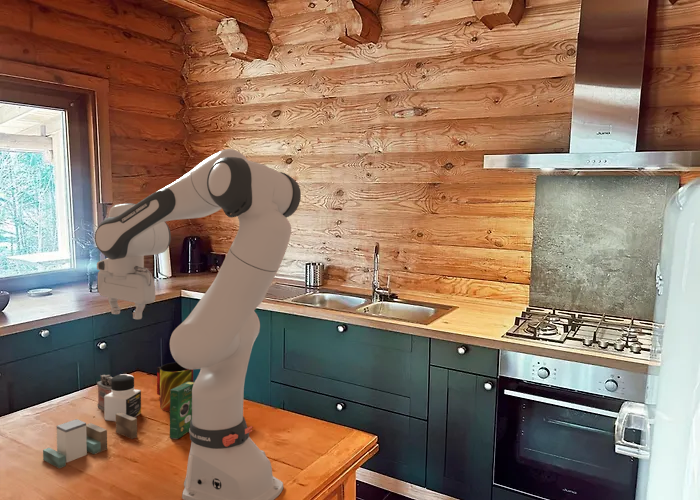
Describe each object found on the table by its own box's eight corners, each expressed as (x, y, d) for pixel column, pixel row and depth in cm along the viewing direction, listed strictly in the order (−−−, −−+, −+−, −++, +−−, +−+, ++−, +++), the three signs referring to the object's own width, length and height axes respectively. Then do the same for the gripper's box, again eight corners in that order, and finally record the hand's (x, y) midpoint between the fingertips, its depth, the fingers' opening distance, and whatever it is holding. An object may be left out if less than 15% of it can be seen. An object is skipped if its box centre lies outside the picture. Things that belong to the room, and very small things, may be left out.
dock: (137, 437, 140) (136, 418, 140) (59, 468, 123) (58, 447, 123) (120, 430, 144) (120, 412, 144) (43, 459, 127) (42, 439, 126)
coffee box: (187, 426, 148) (187, 380, 147) (196, 427, 147) (196, 381, 146) (168, 438, 140) (168, 389, 139) (178, 439, 139) (178, 391, 138)
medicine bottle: (126, 423, 149) (126, 381, 148) (104, 420, 150) (103, 379, 149) (141, 413, 156) (141, 373, 155) (119, 410, 157) (119, 371, 156)
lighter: (94, 406, 159) (94, 374, 159) (105, 403, 162) (105, 371, 161) (110, 413, 155) (109, 380, 154) (120, 410, 158) (120, 377, 157)
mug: (158, 396, 169) (158, 359, 168) (198, 401, 166) (199, 363, 165) (140, 408, 160) (140, 369, 158) (183, 412, 157) (183, 373, 156)
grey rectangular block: (86, 454, 130) (86, 422, 129) (66, 462, 126) (65, 430, 125) (77, 450, 132) (76, 418, 132) (57, 457, 128) (56, 425, 127)
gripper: (161, 267, 138) (161, 319, 139) (114, 260, 149) (114, 309, 151) (140, 269, 133) (140, 324, 134) (92, 262, 144) (93, 313, 145)
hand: (126, 316), depth 142 cm, fingers open, 8 cm apart
